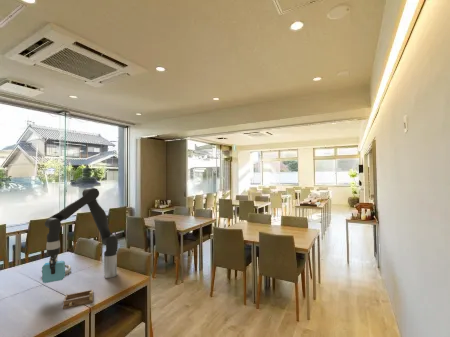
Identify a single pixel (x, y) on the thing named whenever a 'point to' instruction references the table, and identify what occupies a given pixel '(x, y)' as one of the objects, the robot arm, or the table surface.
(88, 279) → the table surface
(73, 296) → the caddy
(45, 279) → the data package
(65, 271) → the headphones
